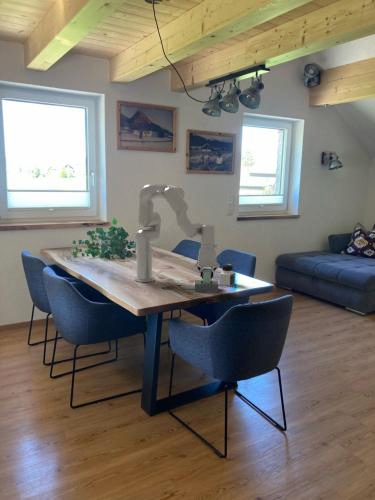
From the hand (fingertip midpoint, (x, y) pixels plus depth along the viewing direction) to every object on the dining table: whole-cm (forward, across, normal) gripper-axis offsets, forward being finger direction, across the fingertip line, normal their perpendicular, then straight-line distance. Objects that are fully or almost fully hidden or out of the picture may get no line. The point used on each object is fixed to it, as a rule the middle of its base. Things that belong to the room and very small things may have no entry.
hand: (206, 278), depth 225 cm
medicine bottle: (+7, -12, -14) cm, 20 cm away
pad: (+7, +10, -4) cm, 13 cm away
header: (+7, 0, 0) cm, 7 cm away
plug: (+7, 0, 0) cm, 7 cm away
